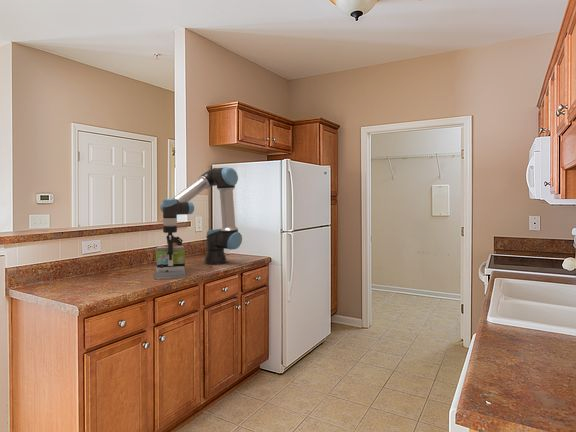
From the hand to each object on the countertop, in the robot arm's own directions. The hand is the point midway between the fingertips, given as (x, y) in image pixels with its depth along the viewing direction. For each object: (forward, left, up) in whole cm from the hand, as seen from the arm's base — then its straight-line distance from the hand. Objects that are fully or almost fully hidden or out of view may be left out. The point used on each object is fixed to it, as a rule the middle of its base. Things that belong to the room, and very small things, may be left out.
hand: (170, 264), depth 225 cm
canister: (-3, -28, -7) cm, 29 cm away
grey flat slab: (0, 0, -7) cm, 7 cm away
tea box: (0, 0, -5) cm, 5 cm away
